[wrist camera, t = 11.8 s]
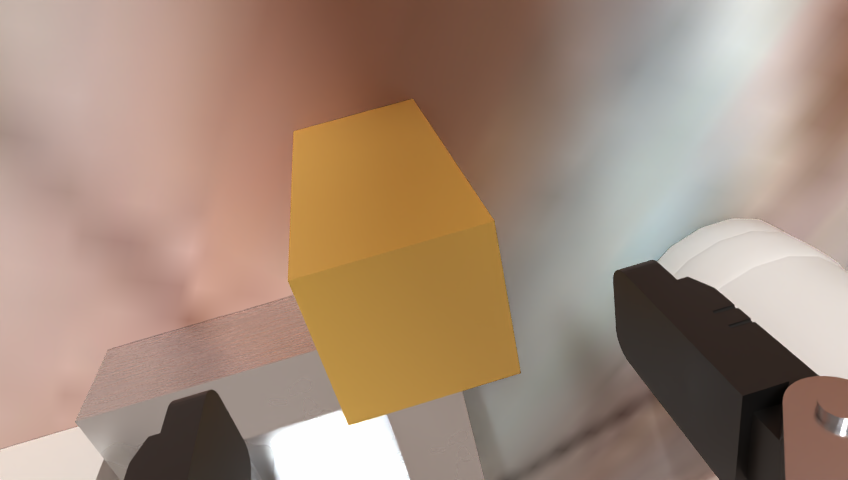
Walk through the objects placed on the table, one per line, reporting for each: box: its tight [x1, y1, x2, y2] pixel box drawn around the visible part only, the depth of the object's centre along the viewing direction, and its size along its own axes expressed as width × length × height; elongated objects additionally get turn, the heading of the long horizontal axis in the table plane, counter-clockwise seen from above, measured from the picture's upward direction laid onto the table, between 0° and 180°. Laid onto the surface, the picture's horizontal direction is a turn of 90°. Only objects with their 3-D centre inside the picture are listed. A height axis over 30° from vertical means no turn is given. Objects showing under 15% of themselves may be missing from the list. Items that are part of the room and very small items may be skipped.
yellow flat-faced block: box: [288, 99, 521, 426], centre depth 15 cm, size 4×4×9 cm
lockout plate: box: [75, 296, 485, 480], centre depth 22 cm, size 12×12×4 cm
